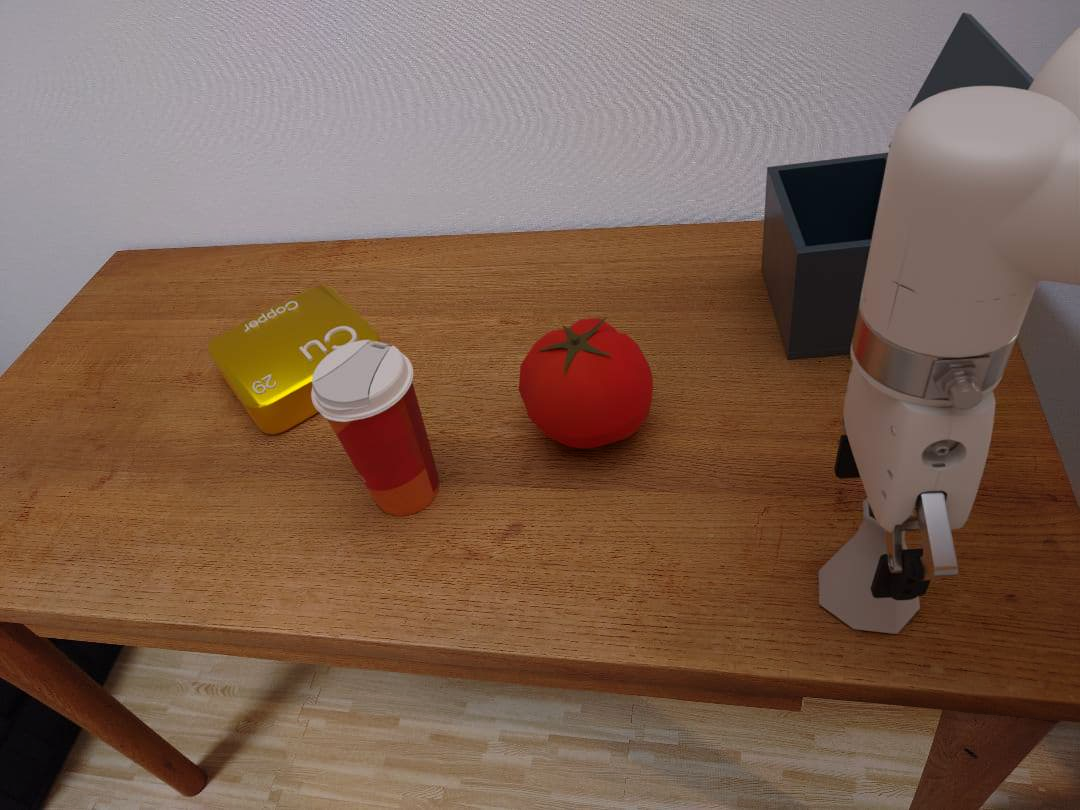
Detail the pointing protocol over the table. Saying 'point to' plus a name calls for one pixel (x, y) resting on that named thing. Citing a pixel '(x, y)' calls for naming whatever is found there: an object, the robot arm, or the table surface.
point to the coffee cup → (378, 423)
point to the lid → (972, 63)
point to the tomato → (586, 384)
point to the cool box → (819, 249)
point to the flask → (863, 582)
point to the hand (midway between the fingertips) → (875, 529)
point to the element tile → (286, 354)
